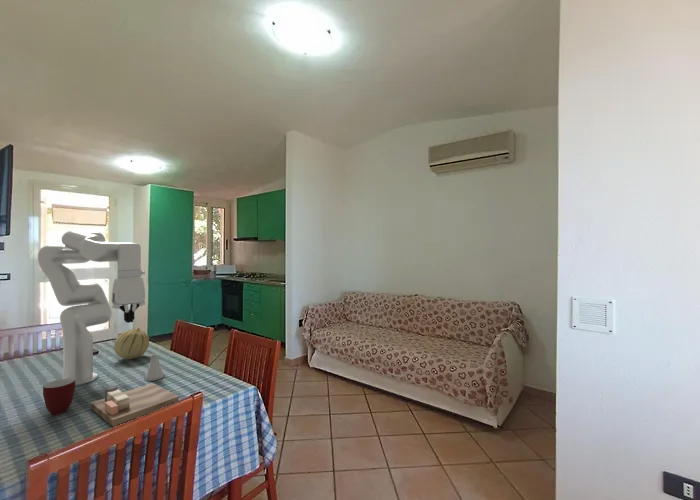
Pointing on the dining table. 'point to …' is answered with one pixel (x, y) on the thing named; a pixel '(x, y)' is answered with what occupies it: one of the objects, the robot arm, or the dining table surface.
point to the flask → (154, 369)
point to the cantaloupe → (131, 344)
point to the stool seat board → (137, 403)
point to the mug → (59, 395)
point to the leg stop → (111, 407)
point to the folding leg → (117, 397)
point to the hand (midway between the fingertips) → (129, 321)
